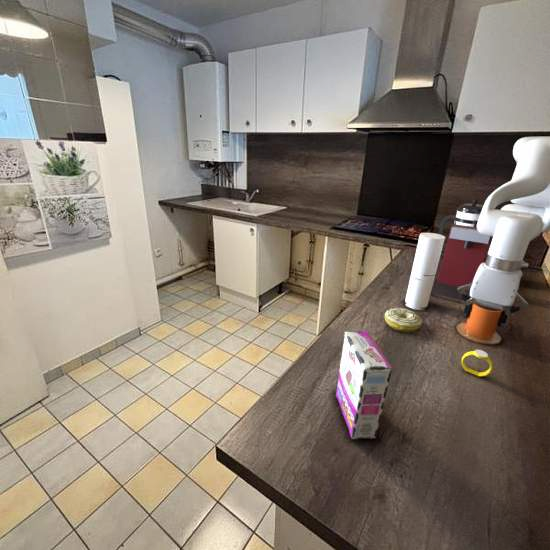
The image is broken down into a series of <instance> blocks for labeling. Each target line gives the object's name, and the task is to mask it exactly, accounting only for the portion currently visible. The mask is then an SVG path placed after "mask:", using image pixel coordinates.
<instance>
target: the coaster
mask: <svg viewBox="0 0 550 550" xmlns="http://www.w3.org/2000/svg"><path fill="white" fill-rule="evenodd" d="M466 322H467V321H463V322H460V323H458V324H457V325H456V331H457V332H458V333H459V334H460V335H461V336H462V337H464V338H466V339H467V340H469V341H472V342H474V343H478V344H481V345H487V346H494V345H498V344H500V343H501V342H502V337H501V335H500V334H499V333H498V332H497V331H495V333H494V336H493V338H491V339H481V338H477V337H474V336H472V335H470V334H469V333H467V332H466V331H465V329H464V328H465V325H466Z"/></svg>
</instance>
